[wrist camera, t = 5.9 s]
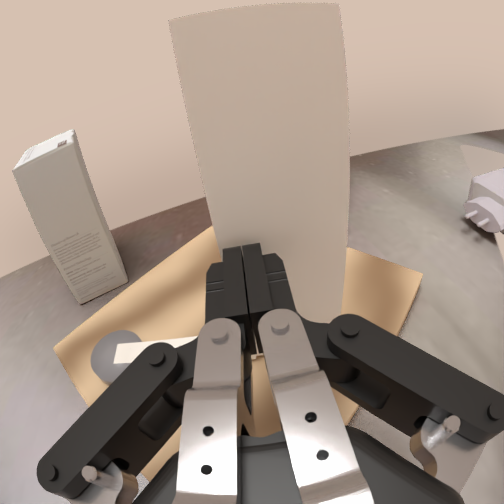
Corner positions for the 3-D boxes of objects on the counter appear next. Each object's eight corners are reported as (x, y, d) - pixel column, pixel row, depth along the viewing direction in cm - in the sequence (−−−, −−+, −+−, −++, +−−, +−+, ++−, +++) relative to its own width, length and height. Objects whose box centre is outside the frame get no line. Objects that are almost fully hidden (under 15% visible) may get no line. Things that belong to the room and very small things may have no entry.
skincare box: (75, 265, 31) (23, 151, 22) (118, 244, 33) (74, 125, 24) (80, 309, 25) (6, 169, 16) (133, 283, 27) (72, 134, 18)
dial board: (62, 358, 20) (51, 345, 19) (235, 222, 33) (232, 208, 32) (239, 550, 9) (232, 554, 8) (419, 287, 22) (424, 271, 21)
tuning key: (93, 386, 16) (-63, 138, 6) (103, 340, 20) (-12, 112, 9) (343, 359, 16) (355, -3, 6) (326, 309, 19) (316, 12, 9)
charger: (437, 219, 29) (495, 194, 32) (497, 266, 22) (541, 227, 25) (444, 181, 26) (501, 164, 29) (512, 225, 19) (552, 195, 22)
